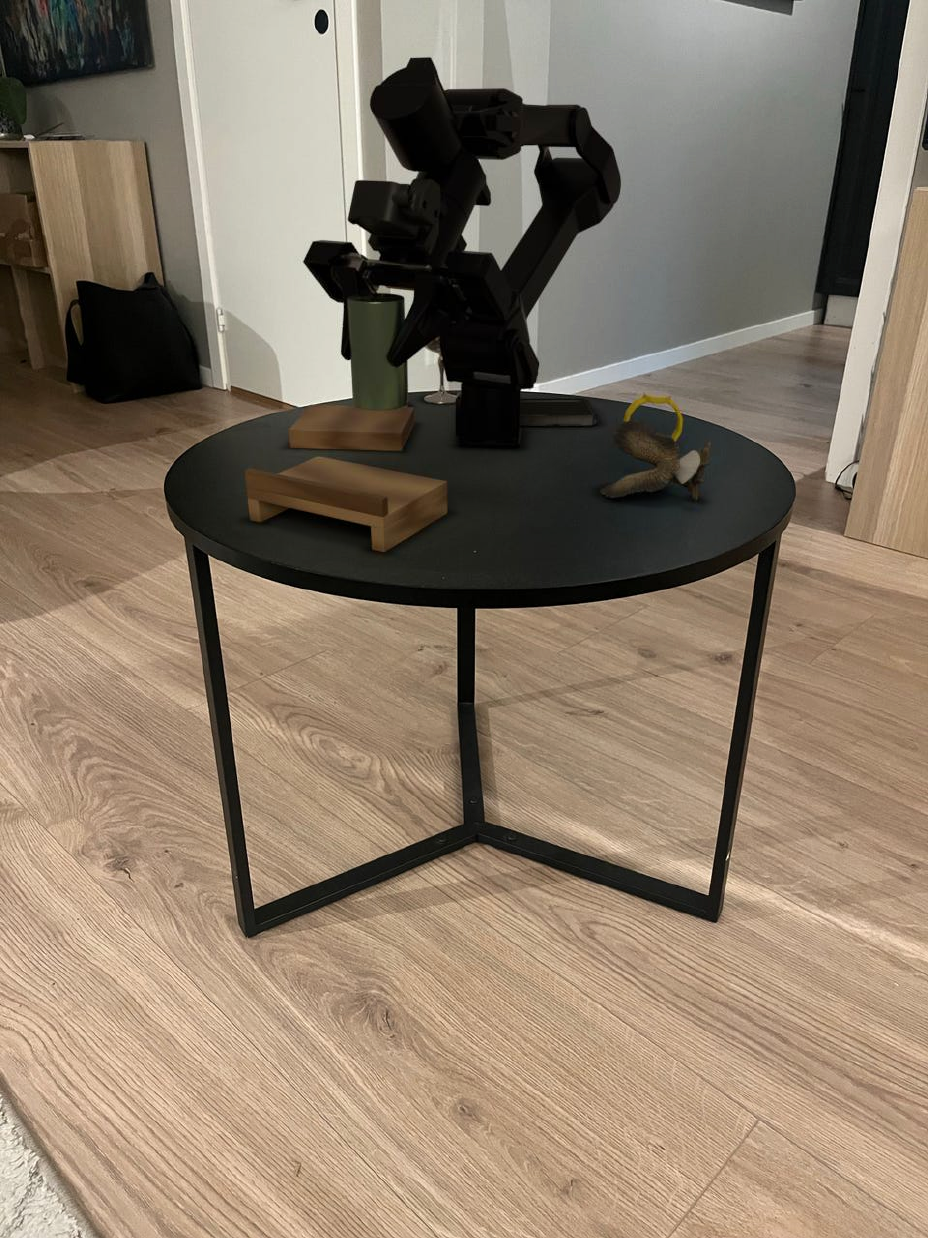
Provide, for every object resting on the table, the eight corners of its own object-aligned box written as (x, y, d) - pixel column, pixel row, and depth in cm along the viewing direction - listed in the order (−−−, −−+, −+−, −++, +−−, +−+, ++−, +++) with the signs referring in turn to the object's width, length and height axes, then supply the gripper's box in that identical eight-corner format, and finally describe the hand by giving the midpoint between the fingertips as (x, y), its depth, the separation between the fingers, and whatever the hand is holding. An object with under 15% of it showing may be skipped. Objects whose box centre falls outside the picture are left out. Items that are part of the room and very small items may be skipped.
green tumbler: (411, 397, 86) (408, 293, 82) (402, 411, 82) (399, 302, 78) (358, 395, 86) (353, 292, 82) (347, 409, 82) (341, 301, 78)
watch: (623, 453, 99) (628, 396, 97) (619, 445, 102) (624, 389, 99) (680, 453, 99) (687, 396, 97) (675, 445, 102) (682, 390, 99)
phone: (464, 398, 114) (588, 398, 114) (464, 408, 115) (588, 407, 115) (465, 416, 107) (598, 415, 107) (465, 426, 108) (598, 425, 108)
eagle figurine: (700, 469, 91) (609, 446, 92) (721, 420, 85) (623, 396, 86) (687, 532, 88) (592, 508, 89) (708, 487, 81) (605, 461, 82)
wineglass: (459, 406, 116) (459, 303, 110) (413, 403, 117) (411, 301, 111) (469, 394, 121) (469, 295, 115) (425, 392, 122) (423, 294, 116)
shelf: (320, 486, 90) (317, 440, 88) (447, 513, 84) (447, 464, 82) (249, 520, 82) (244, 470, 80) (384, 552, 76) (382, 499, 74)
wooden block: (414, 424, 109) (414, 407, 108) (402, 451, 100) (401, 432, 99) (310, 421, 109) (309, 404, 109) (289, 447, 101) (288, 429, 100)
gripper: (308, 139, 82) (232, 290, 79) (497, 141, 73) (421, 312, 70) (367, 229, 91) (301, 368, 88) (540, 241, 83) (475, 395, 80)
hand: (368, 360), depth 81 cm, fingers closed on green tumbler, 5 cm apart
